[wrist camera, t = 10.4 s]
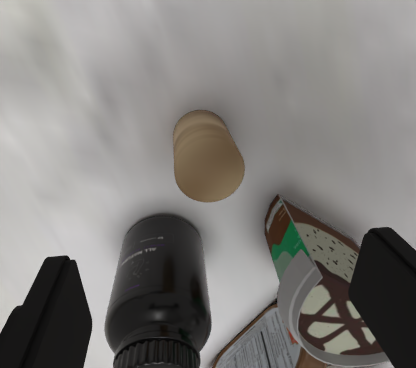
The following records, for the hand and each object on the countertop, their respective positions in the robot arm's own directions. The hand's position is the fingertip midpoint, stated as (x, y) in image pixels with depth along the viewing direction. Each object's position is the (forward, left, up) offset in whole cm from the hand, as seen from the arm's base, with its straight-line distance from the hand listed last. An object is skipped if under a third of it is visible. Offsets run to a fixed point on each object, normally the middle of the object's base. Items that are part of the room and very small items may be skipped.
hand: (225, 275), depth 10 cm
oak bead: (0, 0, -14) cm, 14 cm away
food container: (-14, +1, -15) cm, 20 cm away
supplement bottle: (-5, +9, -14) cm, 18 cm away
